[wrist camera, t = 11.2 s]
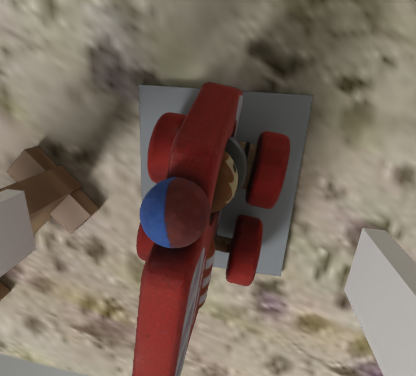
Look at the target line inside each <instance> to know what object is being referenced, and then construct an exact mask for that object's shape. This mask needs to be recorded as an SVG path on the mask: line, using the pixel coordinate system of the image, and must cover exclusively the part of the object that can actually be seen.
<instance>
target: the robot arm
mask: <svg viewBox="0 0 416 376" xmlns="http://www.w3.org/2000/svg"><path fill="white" fill-rule="evenodd" d="M34 250H36V246H35V241H34V236H33V232H32V227H31V222H30V217H29V212H28V208H27V203H26V198H25V193H24V191H19V190H10V189H6V190H4V191H1V192H0V277H1V276H3V275H4V274H5V273H6V272H8V271H9V270H10V269H11V268H13V267H14V266H15V265H17V264H18V263H19V262H20V261H22V260H23V259H24V258H25V257H27V256H28V255H29V254H30V253H32V252H33V251H34ZM344 291H345V293H346V295H347V297H348V299H349V301H350V304H351V306H352V308H353V310H354V312H355V315H356V317H357V319H358V321H359V323H360V325H361V328H362V330H363V332H364V334H365V336H366V339H367V341H368V343H369V345H370V347H371V349H372V352H373V354H374V356H375V358H376V360H377V363H378V365H379V367H380V369H381V371H382V373H383V376H416V263H415V262H414V261H413V260H412V259H411V257H410V256H409V255H408V254H407V253H406V252H405V251H404V250H403V249H402V248H401V247H400V246H399V244H398V243H397V242H396V241H395V240H394V239H393V238H392V237H391V236H390V235H389V234H388V232H387V231H385V230H376V229H366V228H363V229H362V232H361V236H360V239H359V242H358V246H357V249H356V253H355V256H354V259H353V263H352V266H351V269H350V273H349V276H348V280H347V283H346V286H345V290H344Z"/></svg>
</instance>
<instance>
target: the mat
mask: <svg viewBox="0 0 416 376" xmlns="http://www.w3.org/2000/svg"><path fill="white" fill-rule="evenodd" d="M200 90H201V89H200V88H184V87H168V86H152V85H139V113H140V148H141V183H142V201H143V199H144V197H145V196H146V194H147V193H148V192H149V190H150V189H151V188H153V187H154V186H155V185H156V183H155V182H153V181H152V180H151V179H150V177H149V174H148V169H147V158H148V148H149V142H150V138H151V135H152V132H153V129H154V127H155V125H156V123H157V121H158V119H159V118H160V117H161V116H162V115H163V114H164V113H168V112H172V113H178V114H183V115H187V114H188V112H189V111H190V109H191V107H192V105H193V103H194V101H195V99H196V97H197V96H198V94H199V92H200ZM242 92H243V101H242V107H241V112H240V117H239V122H238V128H237V133H236V138H235V139H236V141H237V142H250V143H251V144H257V141H258V138H259V136H260V134H261V133H262V132H264V131H269V132H275V133H280V134H284V135H286V136H288V137H289V139H290V155H289V160H288V166H287V170H286V175H285V179H284V183H283V187H282V190H281V193H280V196H279V198H278V200H277V202H276V204H275V205H274V207H273V208H271V209H264V208H260V207H256V206H251V205H249V204H247V202H246V200H245V196H246V190H245V189H240V190H239V191H238V193H237V194H236V195H234V197H233V198H232V200H231V201H230V202H229V203H228V204H227V205H226V206H224V207H223V208H222V210H221V215H220V220H219V225H218V230H217V234H218V235H220V236H224V237H228V238H232V237H233V232H234V228H235V224H236V220H237V217H238V216H239V215H247V216H251V217H257V218H259V219H261V221H262V224H263V235H262V245H261V250H260V256H259V261H258V265H257V269H256V273H261V274H268V275H275V276H281V271H282V266H283V260H284V254H285V249H286V243H287V238H288V232H289V227H290V221H291V215H292V210H293V204H294V199H295V193H296V188H297V182H298V176H299V171H300V165H301V160H302V154H303V149H304V143H305V137H306V132H307V126H308V121H309V115H310V110H311V104H312V98H313V95H297V94H281V93H265V92H249V91H242ZM228 257H229V253H225V252H221V251H216V250H215V256H214V262H213V266H212V267H219V268H227V262H228Z"/></svg>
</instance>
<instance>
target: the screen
mask: <svg viewBox="0 0 416 376" xmlns="http://www.w3.org/2000/svg"><path fill="white" fill-rule="evenodd" d="M7 173H8V174H9V175H10V176H11V177H12V178H13V179H14V180H15V181H16V182H17V183H15V184H12V185H9V186H7V187H4V188H2V189H0V192H1V191H4V190H6V189H10V190H19V191H24V193H25V198H26V203H27V208H28V212H29V217H30V222H31V227H32V232H33V235H34V234H35V233H36V232H37V231H38V230H39V229H40V228H41V227H42V226H43V225H44V224H45V223H46V222H47V221H48V220H49V219H50V218H51V217H52V216H53V217H54V218H55V219H56V220H57V221H58V222H59V223H60V224H61V225H62V226H63V227H64V228H65V229H66V230H67V231H68V232H69V233H70V234H71V233H73V232H74V231H75V230H76V229H78V228H79V227H80V226H81V225H82V224H83V223H85V222H86V221H87V220H88V219H89V218H90V217H91V216H92V215H93V214H94V213H95V212H96V211H97V210H99V209H100V208H99V207H98V206H97V205H96V204H95V203H94V202H93V201H92V200H91V199H90V198H89V197H88V196H87V195H86V194H85V193H84V192H83V191H82V190H81V189H80V187H81V186H82V185H81V184H80V183H79V182H78V181H77V180H76V179H75V178H74V177H73V176H72V175H71V174H70V173H69V172H68V171H67V170H66V169H65V168H64V167H63V166H62V165H60V166H57V165H56V164H55V163H54V162H53V161H52V160H51V159H50V158H49V157H48V156H47V155H46V154H45V153H44V152H43V151H42V150H41V149H40V148H39V147H38V146H36V147H33V148H29V149H25V150H24V151H23V152H22V153H21V154H20V156H19V157H18V158H17V159H16V161H15V162H14V163H13V164H12V166H11V167H10V168H9V169H8V170H7ZM10 291H11V290H9V289H8V288H7V287H6V286H5V285H4V284H3V283H2V282H0V300H1V299H3V298H4V297H5V296H6V295H7V294H8V293H9V292H10Z"/></svg>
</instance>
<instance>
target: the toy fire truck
mask: <svg viewBox="0 0 416 376" xmlns="http://www.w3.org/2000/svg"><path fill="white" fill-rule="evenodd" d="M242 101H243V92H242V91H241V90H239V89H237V88H233V87H229V86H224V85H220V84H216V83H211V82H207V83H205V84H204V85H203V86H202V88H201V90H200V92H199V94H198V96H197V97H196V99H195V101H194V103H193V105H192V107H191V109H190V111H189V112H188V114H187V115H183V114H178V113H172V112H168V113H164V114H163V115H162V116H161V117H160V118H159V119H158V121H157V123H156V125H155V127H154V129H153V132H152V135H151V138H150V142H149V148H148V158H147V169H148V174H149V177H150V179H151V180H152V181H153V182H155V183H156V185H155V186H154V187H153V188H151V189H150V190H149V192H148V193H147V194H146V196H145V197H144V199H143V201H142V204H141V208H140V220H141V222H140V225H139V230H138V235H137V245H136V246H137V254H138V256H139V257H140V258H141V259H142V260H144V261H146V262H145V265H144V269H143V273H142V277H141V286H140V295H139V308H138V317H137V329H136V343H135V349H134V360H133V374H132V376H180V375H181V371H182V367H183V363H184V359H185V355H186V351H187V347H188V343H189V340H190V337H191V333H192V330H193V326H194V323H195V320H196V316H197V313H198V309H199V308H200V307H202V305H203V304H204V302H205V299H206V296H207V291H208V286H209V281H210V277H211V271H212V266H213V262H214V256H215V250H216V251H221V252H225V253H229V257H228V262H227V268H226V279H227V281H228V282H230V283H235V284H239V285H243V286H249V285H250V284H251V283H252V281H253V279H254V276H255V273H256V269H257V265H258V261H259V256H260V250H261V245H262V235H263V224H262V221H261V219H259V218H257V217H251V216H247V215H239V216H238V217H237V220H236V224H235V228H234V232H233V237H232V238H228V237H224V236H220V235H218V234H217V230H218V225H219V220H220V215H221V210H222V208H223V207H224V206H226V205H227V204H228V203H229V202H230V201H231V200H232V198H233V197H234V195H236V194H237V193H238V191H239V190H240V189H245V190H246V196H245V200H246V202H247V204H249V205H251V206H256V207H260V208H264V209H271V208H273V207H274V205H275V204H276V202H277V200H278V198H279V196H280V193H281V190H282V187H283V183H284V179H285V175H286V170H287V166H288V160H289V155H290V139H289V137H288V136H286V135H284V134H280V133H275V132H269V131H264V132H262V133H261V134H260V136H259V138H258V141H257V144H251V143H250V142H237V141H236V139H235V138H236V133H237V128H238V122H239V117H240V112H241V107H242Z"/></svg>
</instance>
